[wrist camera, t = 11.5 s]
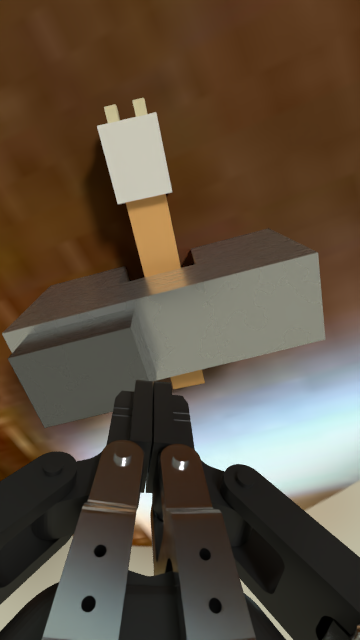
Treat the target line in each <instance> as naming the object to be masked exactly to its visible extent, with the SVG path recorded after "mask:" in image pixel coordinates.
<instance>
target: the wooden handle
mask: <svg viewBox="0 0 360 640" xmlns="http://www.w3.org/2000/svg"><path fill="white" fill-rule="evenodd" d="M132 101H133V105H134V110H135V114H136V117H134V118H129V119H125V120H121V121H120V118H119V114H118V110H117V106H116V105H111V106H106V107H104V109H105V113H106V117H107V121H108V124H103V125H99V126H97V128H98V132H99V136H100V139H101V143H102V147H103V151H104V154H105V158H106V162H107V166H108V170H109V173H110V177H111V181H112V185H113V188H114V192H115V196H116V200H117V204H121V203H126V206H127V209H128V213H129V217H130V221H131V225H132V229H133V233H134V237H135V241H136V245H137V249H138V253H139V256H140V260H141V264H142V268H143V272H144V276H145V277H149V276H152V275H156V274H160V273H164V272H168V271H172V270H175V269H179V268H181V266H180V261H179V257H178V252H177V247H176V242H175V237H174V233H173V228H172V223H171V218H170V213H169V208H168V204H167V199H166V194H167V193H171V192H172V189H171V184H170V179H169V174H168V169H167V164H166V159H165V154H164V149H163V144H162V139H161V134H160V129H159V124H158V119H157V114H156V112H155V113H151V114H147V110H146V105H145V100H144V98H141V99H136V100H132ZM170 378H171V382H172V386H173V389H177V388H182V387H187V386H192V385H197V384H202V383H205V382H204V377H203V372H202V370H198V371H193V372H189V373H185V374H181V375H177V376H173V377H170Z"/></svg>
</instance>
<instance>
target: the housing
mask: <svg viewBox="0 0 360 640" xmlns="http://www.w3.org/2000/svg"><path fill="white" fill-rule="evenodd" d="M191 253H192V257H193V261H194V265H191V266H187V267H183V268H179V269H175V270H172V271H168V272H164V273H160V274H156V275H152V276H149V277H145V278H141V279H137V280H133V281H130V279H129V276H128V273H127V270H126V267H125V266H124V267H120V268H117V269H113V270H109V271H105V272H101V273H97V274H94V275H90V276H86V277H82V278H78V279H75V280H71V281H67V282H63V283H59V284H56V285H52V286H50V287H49V288H48V289H47V290H46V291H45V292H44V293H43V294H42V295H41V296H40V297H39V298H38V299H37V300H36V301H35V302H34V303H33V304H32V305H31V306H30V307H29V308H28V309H27V310H26V311H25V312H23V313H22V314H21V315H20V316H19V317H18V318H17V319H16V320H15V321H14V322H13V323H12V324H11V325H10V326H9V327H8V328H7V329H6V330H5V331H4V332H3V333H2V335H3V337H4V338H5V340H6V342H7V344H8V346H9V348H10V350H11V352H12V354H11V355H10V357H9V358H8V360H9V362H10V364H11V365H12V367H13V369H14V371H15V373H16V375H17V377H18V379H19V380H20V382H21V384H22V386H23V388H24V390H25V392H26V394H27V396H28V397H29V399H30V401H31V403H32V405H33V407H34V409H35V411H36V413H37V414H38V416H39V418H40V420H41V422H42V424H43V426H44V428H46V427H50V426H54V425H59V424H63V423H67V422H71V421H75V420H79V419H84V418H88V417H92V416H96V415H100V414H105V413H109V412H113V408H114V402H115V398H116V396H117V395H118V394H119V393H120V392H121V391H133V392H134V390H135V382H136V380H145V381H153V383H154V381H156V380H160V379H165V378H169V377H173V376H177V375H181V374H185V373H189V372H193V371H198V370H202V369H206V368H210V367H214V366H218V365H222V364H226V363H230V362H235V361H239V360H243V359H247V358H251V357H255V356H259V355H263V354H268V353H272V352H276V351H280V350H284V349H288V348H292V347H296V346H300V345H305V344H309V343H313V342H317V341H321V340H325V330H324V318H323V307H322V295H321V283H320V272H319V260H318V252H316V251H314V250H312V249H310V248H308V247H306V246H304V245H302V244H299V243H297V242H295V241H293V240H291V239H289V238H287V237H285V236H283V235H281V234H279V233H277V232H275V231H273V230H271V229H265V230H261V231H257V232H254V233H250V234H246V235H242V236H238V237H234V238H231V239H227V240H223V241H219V242H215V243H212V244H208V245H204V246H200V247H196V248H193V249H191Z"/></svg>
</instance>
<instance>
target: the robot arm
mask: <svg viewBox="0 0 360 640" xmlns="http://www.w3.org/2000/svg"><path fill="white" fill-rule="evenodd" d="M145 483H146V493H152V507H151V515H150V516H151V532H152V547H153V563H154V576H145V575H141V574H138V573H135V572H132V571H129V570H128V567H129V560H130V553H131V546H132V539H133V532H134V525H135V518H136V510H137V508H138V505H139V498H140V492H141V493H144V489H145ZM72 534H74V536H73V540H72V543H71V546H70V549H69V553H68V556H67V559H66V562H65V566H64V569H63V572H62V575H61V579H60V582H58V583H56V584H54V585H52V586H50V587H48V588H47V589H45V590H44V591H42V592H41V593H39V594H38V595H36V596H35V597H34V598H33V599H32V600H31V601H30V602H28V603H27V604H26V605H25V606H24V607H23V608H22V609H21V610H20V611H19V612H18V614H16V615H15V617H14V618H13V619H12V620H11V621H10V622H9V623H8V624H7V625H6V626H5V627H4V628H3V629H2V630H1V631H0V640H286V639H285V638H284V637H283V635H282V634H281V633H280V632H279V631H278V630H277V628H276V627H275V626H274V625H273V623H272V622H271V621H270V620H269V618H268V617H267V616H266V615H265V614H264V612H263V611H262V610H261V609H260V608H259V606H258V605H257V604H256V603H255V602H254V601H253V600H252V599H251V598H249V597H248V596H247V595H246V594H245V593H243V589H242V586H241V582H240V579H241V580H242V581H243V583H244V584H245V585H246V586H247V587H248V588H249V589H250V591H251V592H252V593H253V594H254V595H255V596H256V597H257V599H258V600H259V601H260V602H261V603H262V604H263V605H264V607H265V608H266V609H267V610H268V611H269V612H270V613H271V614H272V616H273V617H274V618H275V619H276V620H277V621H278V622H279V623H280V625H281V626H282V627H283V628H284V629H285V631H286V632H287V633H288V634H289V635H290V636H291V637H292V638H293V640H360V557H359V556H357V555H356V554H355V553H354V552H353V551H351V550H350V549H349V548H348V547H347V546H346V545H344V544H343V543H342V542H341V541H340V540H338V539H337V538H336V537H335V536H333V535H332V534H331V533H330V532H329V531H328V530H326V529H325V528H324V527H323V526H322V525H320V524H319V523H318V522H317V521H316V520H314V519H313V518H312V517H311V516H310V515H309V514H307V513H306V512H305V511H304V510H303V509H301V508H300V507H299V506H298V505H297V504H295V503H294V502H293V501H292V500H291V499H289V498H288V497H287V496H286V495H285V494H283V493H282V492H281V491H280V490H279V489H277V488H276V487H275V486H274V485H273V484H272V483H270V482H269V481H268V480H267V479H266V478H264V477H263V476H262V475H261V474H260V473H258V472H257V471H256V470H254V469H253V468H251V467H249V466H246V465H241V464H236V465H232V466H230V467H228V468H227V469H226V471H225V472H224V471H221V470H219V469H216V468H213V467H210V466H208V465H207V464H205V463H204V462H202V461H201V459H200V456H199V455H198V453H197V452H196V451H195V449H194V442H193V435H192V428H191V422H190V415H189V407H188V403H187V402H186V400H185V399H184V398H183V396H178V395H172V388H171V383H167V382H156V381H154V383H153V381H145V380H136V382H135V390H134V392H133V391H121V392H120V393H119V394H118V395H117V396H116V398H115V402H114V408H113V413H112V419H111V424H110V430H109V435H108V441H107V445H106V447H105V448H104V449H103V451H102V452H101V453H100V454H98V455H97V456H95V457H93V458H90V459H87V460H82V461H77V462H76V460H75V459H74V458H73V457H72V456H71V455H70V454H67V453H64V452H50V453H46V454H44V455H42V456H40V457H38V458H37V459H35V460H33V461H32V462H30V463H29V464H27V465H26V466H24V467H22V468H21V469H19V470H18V471H16V472H15V473H13V474H11V475H10V476H8V477H7V478H5V479H4V480H2V481H0V604H1V603H2V602H3V601H4V600H6V599H7V598H8V597H9V596H10V595H11V594H12V593H13V592H14V591H15V590H16V589H17V588H19V587H20V586H21V585H22V584H23V583H24V582H25V581H26V580H27V579H28V578H29V577H30V576H31V575H32V574H34V573H35V572H36V571H37V570H38V569H39V568H40V567H41V566H42V565H43V564H44V563H45V562H46V561H47V560H49V558H51V557H52V556H53V555H54V554H55V553H56V552H57V551H58V550H59V549H60V548H61V547H62V546H63V545H65V544H66V543H67V541H68V540H69V539H70V538H71V536H72Z"/></svg>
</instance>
